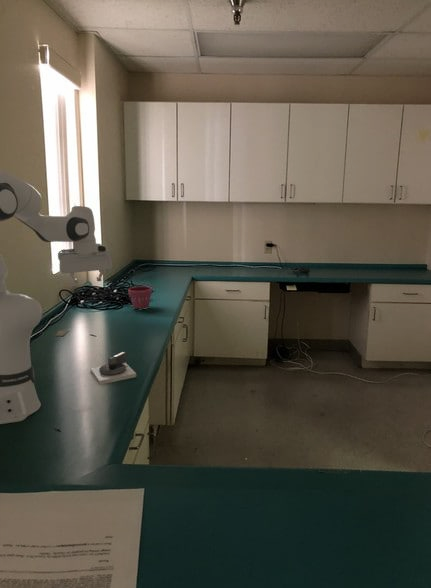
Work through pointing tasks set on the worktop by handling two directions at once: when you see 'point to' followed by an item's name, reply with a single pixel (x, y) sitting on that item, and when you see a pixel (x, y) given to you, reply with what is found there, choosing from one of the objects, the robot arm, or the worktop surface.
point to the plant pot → (140, 296)
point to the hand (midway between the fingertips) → (87, 282)
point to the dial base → (112, 378)
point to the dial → (114, 365)
